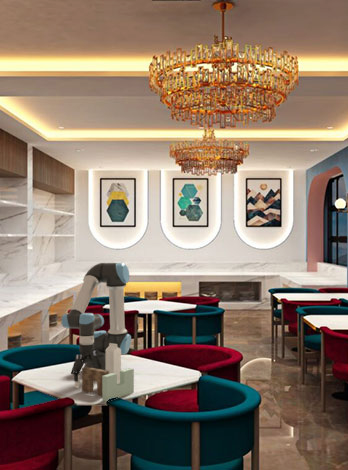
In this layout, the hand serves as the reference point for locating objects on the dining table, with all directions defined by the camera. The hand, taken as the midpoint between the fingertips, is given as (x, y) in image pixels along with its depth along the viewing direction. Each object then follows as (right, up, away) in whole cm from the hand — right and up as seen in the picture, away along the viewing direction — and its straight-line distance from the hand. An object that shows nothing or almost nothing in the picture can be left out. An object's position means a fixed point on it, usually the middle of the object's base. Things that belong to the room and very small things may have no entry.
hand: (86, 384), depth 281 cm
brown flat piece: (+5, -3, -4) cm, 7 cm away
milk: (+12, -4, +13) cm, 18 cm away
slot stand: (+17, -3, -10) cm, 20 cm away
